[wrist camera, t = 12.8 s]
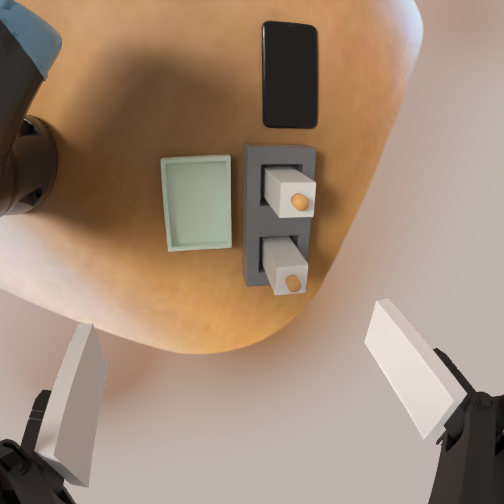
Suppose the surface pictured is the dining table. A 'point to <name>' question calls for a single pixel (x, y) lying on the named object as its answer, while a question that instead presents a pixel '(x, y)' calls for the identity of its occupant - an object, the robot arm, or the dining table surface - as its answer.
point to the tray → (197, 201)
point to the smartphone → (289, 75)
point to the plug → (283, 265)
